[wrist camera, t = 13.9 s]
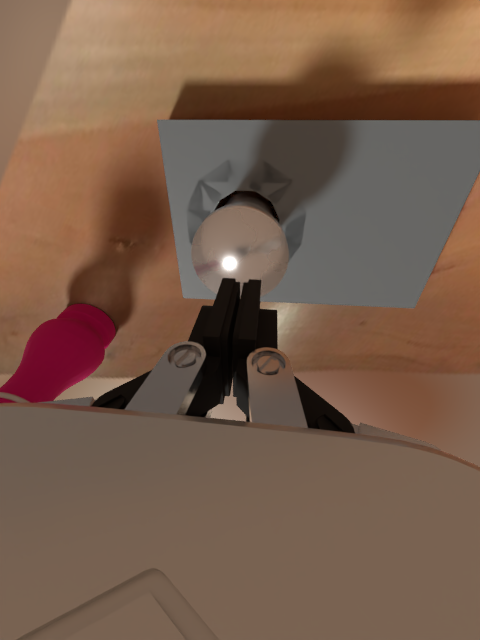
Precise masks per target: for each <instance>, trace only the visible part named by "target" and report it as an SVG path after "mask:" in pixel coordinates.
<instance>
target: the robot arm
mask: <svg viewBox="0 0 480 640" xmlns="http://www.w3.org/2000/svg"><path fill="white" fill-rule="evenodd" d="M260 294H261V280H254V279H249V281H248V282H244V283H243V288H242V293H241V298H240V282H236V279H235V278H222V281H221V284H220V287H219V290H218V293H217V296H216V299H215V301H214V304H213V306H202V308H201V310H200V313H199V315H198V318H197V320H196V323H195V325H194V327H193V330H192V332H191V335H190V337H189V340H188V341H187V342H180V343H177V344H174V345H173V346H171V347H169V348H168V349H167V351H166V352H165V353H164V354H163V356H162V357H161V359H160V360H159V361H158V363H157V364H156V366H155V367H154V368H153V370H151V371H149V372H147V373H145V374H143V375H141V376H139V377H137V378H135V379H133V380H131V381H129V382H127V383H125V384H123V385H121V386H119V387H117V388H115V389H113V390H111V391H109V392H107V393H105V394H104V395H102V396H100V397H99V398H98V399H97V400H94V398H93V397H86V398H77V399H67V400H57V401H48V402H38V403H26V402H23V403H1V404H0V640H480V467H478V466H477V465H475V464H472V463H470V462H468V461H466V460H463V459H461V458H458V457H456V456H454V455H451V454H449V453H446V452H443V451H441V450H440V449H438V448H437V447H436V446H434V445H431V444H429V443H427V442H424V441H421V440H417V439H414V438H411V437H407V436H404V435H400V434H397V433H394V432H390V431H387V430H383V429H380V428H376V427H373V426H370V425H367V424H363V423H360V424H359V426H358V425H355V424H351V423H350V421H349V420H348V419H347V418H346V417H345V416H344V415H343V414H342V413H340V412H339V411H338V410H337V409H335V408H334V407H333V406H331V405H330V404H329V403H328V402H326V401H325V400H324V399H323V398H321V397H320V396H319V395H318V394H316V393H315V392H314V391H313V390H311V389H310V388H309V387H308V386H306V385H305V384H304V383H302V382H301V381H300V380H299V379H297V378H296V377H295V376H294V374H293V370H292V367H291V363H290V360H289V358H288V357H287V356H286V355H285V354H284V353H283V352H282V351H280V350H278V349H277V310H267V309H260ZM232 379H233V396H234V397H237V406H238V407H239V408H240V409H241V410H242V411H243V412H244V414H245V422H244V421H235V420H225V419H214V418H210V417H211V413H212V408H213V407H215V406H217V405H218V404H223V403H224V397H225V396H230V391H231V385H232Z"/></svg>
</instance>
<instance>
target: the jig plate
mask: <svg viewBox="0 0 480 640" xmlns="http://www.w3.org/2000/svg"><path fill="white" fill-rule="evenodd" d="M157 122H158V129H159V136H160V143H161V150H162V157H163V163H164V170H165V177H166V184H167V191H168V197H169V204H170V211H171V218H172V225H173V232H174V238H175V245H176V252H177V259H178V266H179V272H180V279H181V286H182V293H183V298H196V299H216V296H217V294H216V293H214V292H212V291H211V290H210V289H209V288H207V287H206V286H205V285H204V284H203V282H202V281H201V280H200V279H199V277H198V275H197V274H196V271H195V269H194V266H193V263H192V258H191V248H192V242H193V238H194V236H195V233H196V232H197V230H198V228H199V227H200V225H201V224H202V222H203V221H204V220H205V218H206V217H207V216H208V215H209V214H211V213H212V212H213V211H215V210H216V208H217V206H218V204H219V202H220V200H221V199H223V198H225V197H226V196H228V195H229V194H231V193H233V192H234V191H256V192H257V193H259V194H260V195H262V196H263V197H265V198H266V199H268V200H269V201H271V202H272V204H273V206H274V209H275V211H276V213H277V215H278V223H279V224H280V225H281V227H282V229H283V231H284V233H285V236H286V240H287V244H288V251H289V261H288V266H287V269H286V272H285V274H284V276H283V278H282V280H281V281H280V283H279V284H278V285H277V286H276V287H275V288H274V289H273V290H272V291H270V292H269V293H267V294H265V295H263V296H261V297H260V301H263V302H286V303H308V304H330V305H353V306H375V307H397V308H415V306H416V304H417V301H418V299H419V297H420V295H421V293H422V291H423V289H424V287H425V285H426V283H427V281H428V278H429V276H430V274H431V272H432V270H433V268H434V266H435V264H436V262H437V260H438V257H439V255H440V253H441V251H442V249H443V247H444V245H445V243H446V241H447V239H448V237H449V234H450V232H451V230H452V228H453V226H454V224H455V222H456V220H457V218H458V216H459V213H460V211H461V209H462V207H463V205H464V203H465V201H466V199H467V197H468V195H469V193H470V190H471V188H472V186H473V184H474V182H475V180H476V178H477V176H478V174H479V172H480V120H157Z"/></svg>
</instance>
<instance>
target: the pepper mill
mask: <svg viewBox="0 0 480 640" xmlns="http://www.w3.org/2000/svg"><path fill="white" fill-rule="evenodd" d="M115 332H116V331H115V326H114V324H113V322H112V320H111V319H110V318H109V316H107V315H106V314H105V313H104V312H103V311H101V310H100V309H98V308H96V307H93V306H91V305H87V304H73V305H71V306H69V307H67V308H66V309H65V310H64V311H63V312H62V313H61V314H60V315H59V316H58V317H57V319H52V320H48V321H46V322H44V323H43V324H41V325H40V326H39V327H38V328H37V329H36V330H35V331H34V332H33V333H32V335H31V337H30V338H29V340H28V342H27V345H26V347H25V350H24V354H23V358H22V361H21V363H20V366H19V367H18V369H17V371H16V372H15V374H14V375H13V376H12V377H11V378H10V379H9V380H8V381H7V382H6V383H5V384H4V385H3V386H2V387H1V388H0V404H1V403H23V402H26V403H38V402H48V401H53V400H54V399H55V398H56V397H57V396H59V395H60V394H61V393H62V392H63V391H65V390H66V389H68V388H69V387H71V386H73V385H74V384H76V383H78V382H80V381H82V380H83V379H85V378H86V377H88V376H89V375H90V374H92V373H93V372H94V371H95V370H96V369H97V368H98V367H99V365H100V364H101V363H102V361H103V359H104V355H105V349H106V348H107V347H108V345H109V344H110V343H111V341H112V340H113V338H114V337H115Z"/></svg>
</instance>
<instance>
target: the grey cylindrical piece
mask: <svg viewBox="0 0 480 640" xmlns="http://www.w3.org/2000/svg"><path fill="white" fill-rule="evenodd" d="M191 258H192V263H193V266H194V269H195V271H196V274H197V275H198V277H199V279H200V280H201V281H202V282H203V284H204V285H205V286H206V287H207V288H209V289H210V290H211V291H212V292H214V293H216V294H217V293H218V290H219V287H220V284H221V281H222V278H235V279H236V282H240V298H241V293H242V288H243V283H244V282H248V281H249V279H254V280H261V294H260V297H261V296H263V295H265V294H267V293H269V292H270V291H272V290H273V289H274V288H275V287H276V286H277V285H278V284H279V283H280V281H281V280H282V278H283V276H284V274H285V272H286V269H287V266H288V261H289V251H288V244H287V240H286V236H285V233H284V231H283V229H282V227H281V225H280V224H279V223H278V221H277V220H276V219H275V218H274V217H273V212H272V208H271V206H270V204H269V202H268V201H267V199H266V198H265V197H263V196H262V195H260V194H259V193H257V192H254V191H241V192H238V193H236V194H234V195H233V196H232V197H231V198H230V199H229V200H228V201H227V203H226V204H225V206H223V207H220V208H218V209H216V210H215V211H213V212H212V213H211V214H209V215H208V216H207V217H206V218H205V220H204V221H203V222H202V224H201V225H200V227H199V228H198V230H197V232H196V233H195V236H194V238H193V242H192V248H191Z"/></svg>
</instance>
